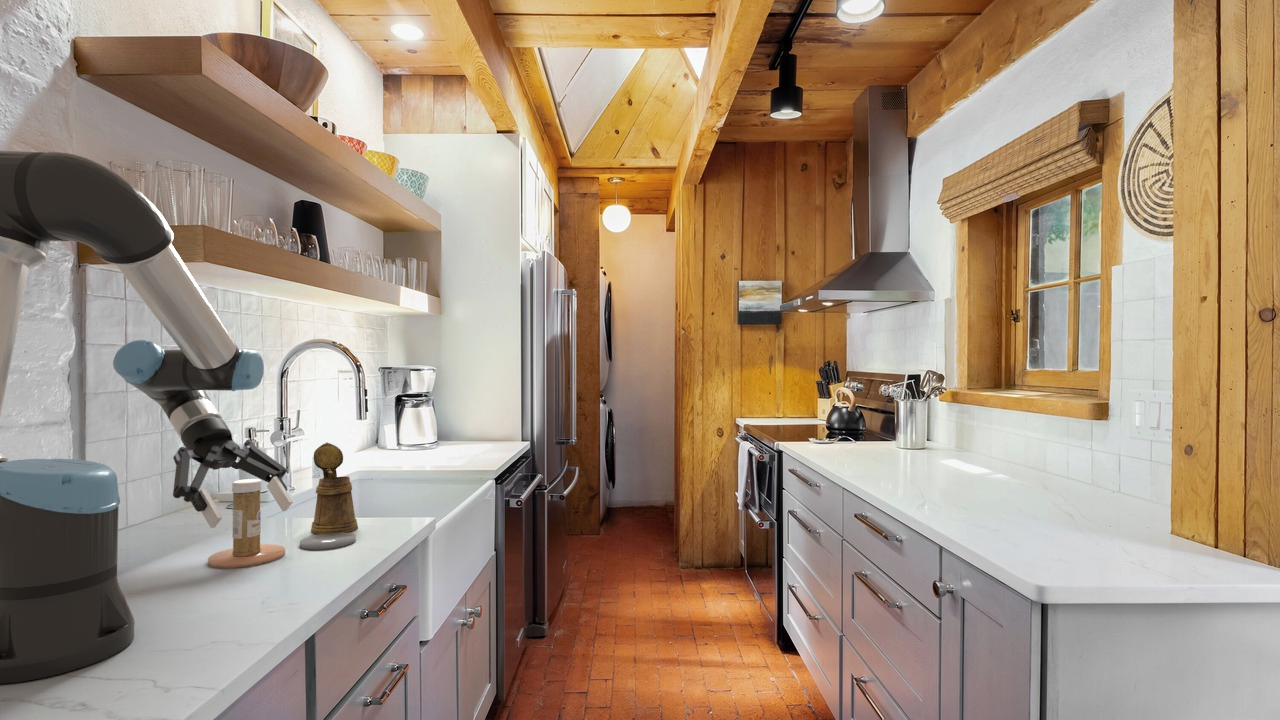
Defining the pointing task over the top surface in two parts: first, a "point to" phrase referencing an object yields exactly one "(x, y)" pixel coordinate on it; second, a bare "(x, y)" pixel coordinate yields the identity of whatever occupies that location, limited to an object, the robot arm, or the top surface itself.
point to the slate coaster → (327, 541)
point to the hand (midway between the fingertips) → (254, 514)
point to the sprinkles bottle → (246, 517)
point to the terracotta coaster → (246, 557)
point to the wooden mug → (332, 494)
